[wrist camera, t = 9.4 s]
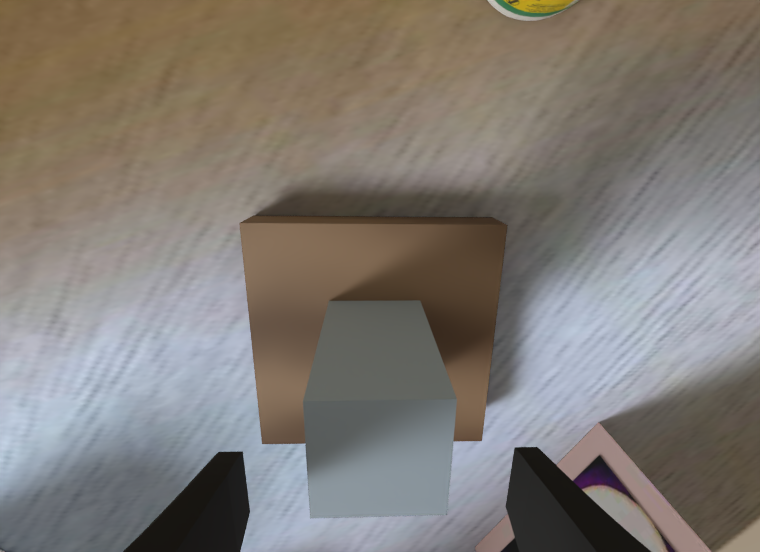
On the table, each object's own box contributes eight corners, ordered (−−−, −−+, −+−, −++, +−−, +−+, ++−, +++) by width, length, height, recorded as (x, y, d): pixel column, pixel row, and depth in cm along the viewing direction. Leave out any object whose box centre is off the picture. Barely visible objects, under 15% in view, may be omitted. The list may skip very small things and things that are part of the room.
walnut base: (471, 414, 21) (481, 440, 19) (271, 417, 20) (262, 444, 18) (491, 217, 17) (507, 225, 15) (253, 215, 17) (239, 223, 15)
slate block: (416, 379, 18) (446, 514, 11) (331, 380, 17) (310, 518, 11) (420, 300, 16) (456, 399, 10) (328, 300, 16) (302, 401, 10)
